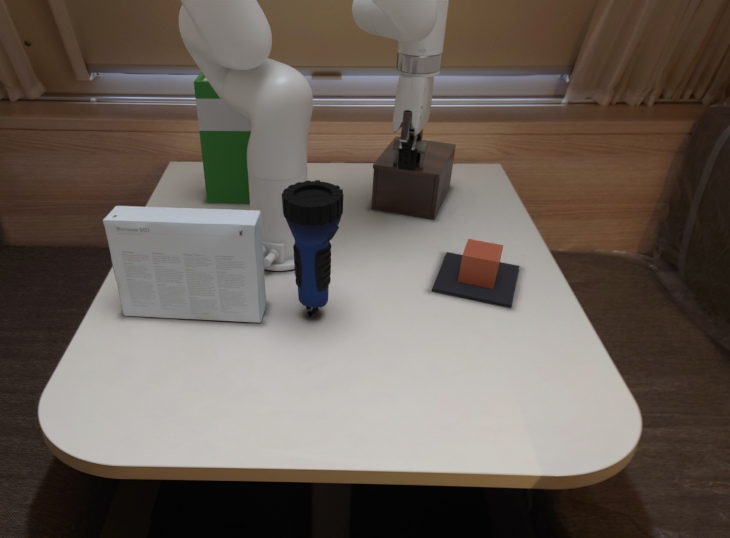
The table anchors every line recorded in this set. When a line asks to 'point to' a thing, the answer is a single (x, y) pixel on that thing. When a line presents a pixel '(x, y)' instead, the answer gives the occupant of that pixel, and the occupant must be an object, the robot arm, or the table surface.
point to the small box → (480, 263)
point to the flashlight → (313, 236)
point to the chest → (410, 192)
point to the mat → (496, 296)
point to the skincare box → (188, 262)
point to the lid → (430, 159)
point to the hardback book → (222, 146)
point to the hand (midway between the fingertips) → (408, 164)
